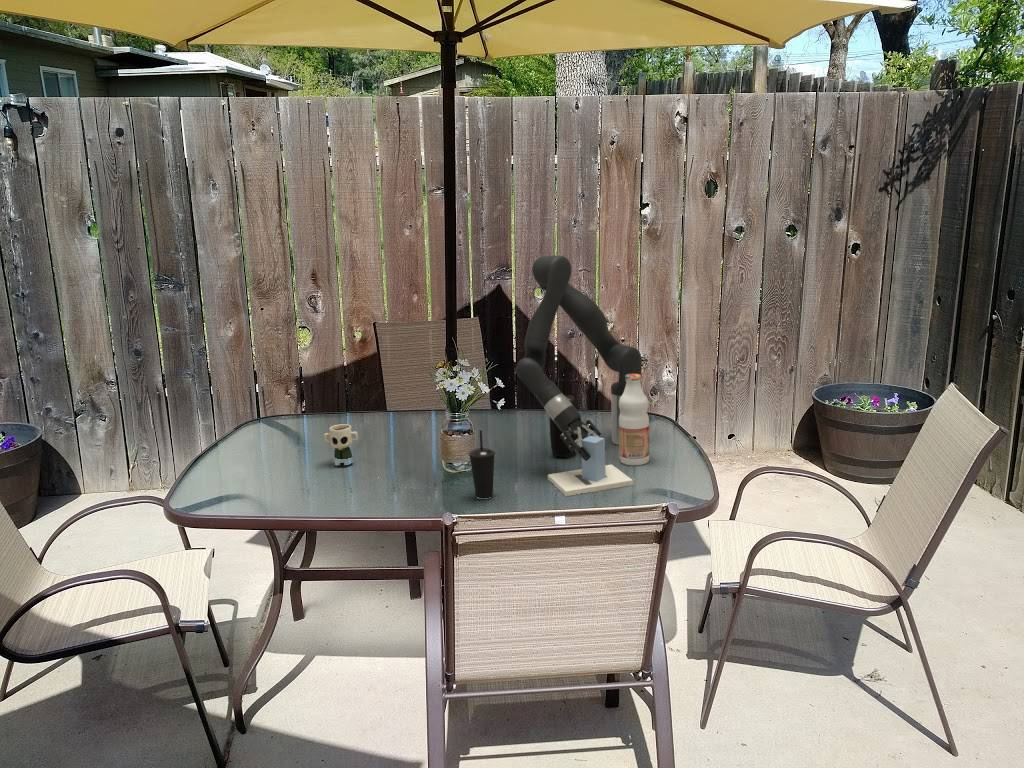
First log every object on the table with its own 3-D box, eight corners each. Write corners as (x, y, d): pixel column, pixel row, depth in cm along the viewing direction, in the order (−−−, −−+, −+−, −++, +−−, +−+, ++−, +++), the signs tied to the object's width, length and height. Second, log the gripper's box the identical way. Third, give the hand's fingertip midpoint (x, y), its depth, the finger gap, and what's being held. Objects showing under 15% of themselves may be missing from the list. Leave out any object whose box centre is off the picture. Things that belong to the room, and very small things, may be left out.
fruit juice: (613, 460, 259) (611, 375, 252) (635, 454, 264) (634, 370, 257) (633, 468, 252) (631, 380, 245) (655, 461, 257) (655, 375, 250)
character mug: (325, 469, 265) (320, 431, 261) (329, 462, 272) (325, 424, 268) (358, 467, 265) (354, 429, 261) (362, 460, 271) (358, 423, 268)
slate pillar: (591, 473, 244) (590, 435, 242) (605, 476, 241) (604, 438, 239) (582, 478, 241) (581, 440, 238) (596, 482, 238) (595, 442, 235)
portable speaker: (578, 450, 270) (576, 393, 266) (575, 460, 262) (574, 401, 257) (552, 450, 272) (550, 393, 267) (549, 459, 263) (547, 401, 258)
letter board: (611, 468, 252) (611, 464, 252) (632, 485, 238) (632, 480, 238) (547, 479, 246) (547, 474, 246) (566, 496, 232) (565, 491, 232)
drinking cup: (474, 503, 230) (470, 436, 225) (468, 494, 237) (464, 428, 233) (500, 499, 232) (496, 432, 227) (494, 490, 239) (490, 425, 234)
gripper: (556, 410, 235) (591, 454, 231) (582, 399, 246) (616, 441, 242) (541, 425, 239) (575, 469, 235) (568, 413, 250) (601, 455, 246)
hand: (596, 454), depth 239 cm, fingers open, 8 cm apart
